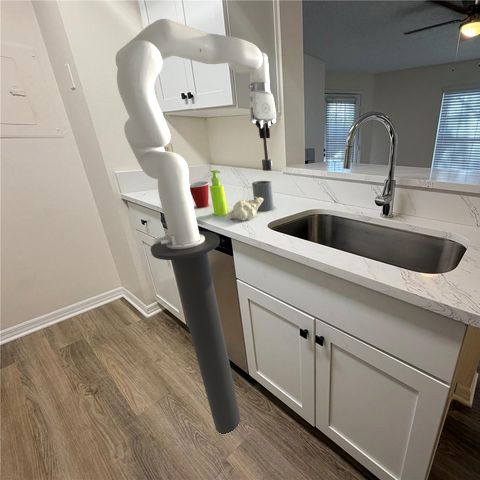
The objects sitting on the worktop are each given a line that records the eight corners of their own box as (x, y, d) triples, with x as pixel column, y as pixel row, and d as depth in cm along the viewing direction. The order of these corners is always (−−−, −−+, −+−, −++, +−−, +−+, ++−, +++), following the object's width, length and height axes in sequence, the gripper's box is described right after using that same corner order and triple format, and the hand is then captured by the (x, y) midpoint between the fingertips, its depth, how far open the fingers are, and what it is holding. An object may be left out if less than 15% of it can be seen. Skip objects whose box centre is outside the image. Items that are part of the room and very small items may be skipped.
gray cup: (261, 212, 124) (258, 184, 119) (251, 208, 130) (248, 182, 125) (277, 208, 129) (274, 182, 124) (266, 205, 135) (264, 180, 130)
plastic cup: (187, 206, 136) (182, 183, 131) (208, 202, 142) (204, 180, 138) (194, 210, 128) (189, 186, 124) (216, 206, 135) (212, 183, 130)
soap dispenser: (219, 216, 118) (211, 171, 110) (212, 213, 122) (204, 170, 115) (231, 213, 122) (224, 170, 114) (223, 211, 126) (217, 169, 119)
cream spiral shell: (229, 229, 108) (254, 207, 104) (219, 215, 109) (244, 192, 105) (249, 228, 123) (271, 208, 119) (240, 216, 124) (263, 196, 120)
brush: (266, 171, 114) (262, 123, 107) (260, 170, 117) (256, 124, 110) (274, 170, 117) (271, 124, 110) (268, 169, 120) (265, 124, 113)
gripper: (248, 86, 97) (253, 138, 104) (281, 90, 107) (284, 137, 115) (238, 88, 102) (244, 138, 109) (271, 92, 112) (274, 137, 119)
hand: (264, 137), depth 112 cm, fingers closed on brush
